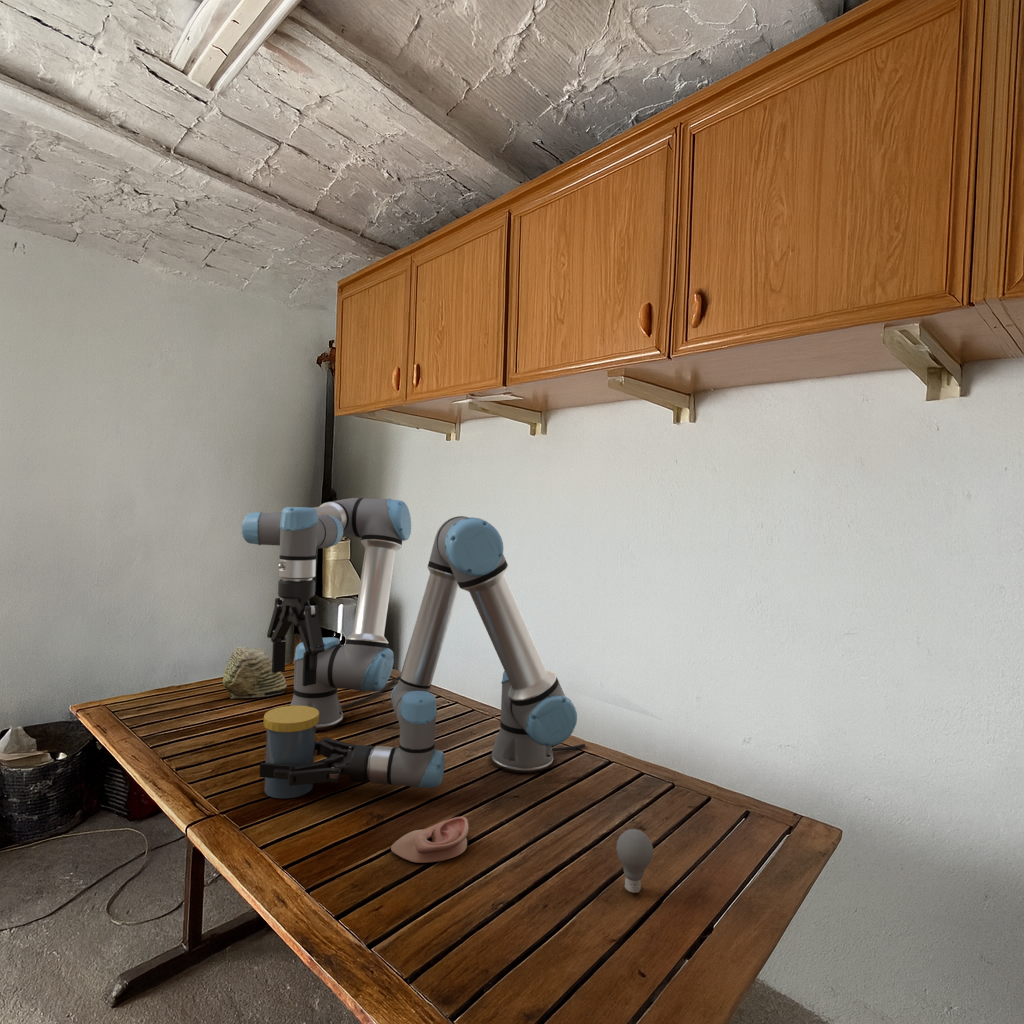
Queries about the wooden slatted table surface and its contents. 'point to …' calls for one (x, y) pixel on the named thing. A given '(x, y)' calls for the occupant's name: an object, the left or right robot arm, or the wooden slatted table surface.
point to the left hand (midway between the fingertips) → (293, 678)
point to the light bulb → (634, 857)
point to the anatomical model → (434, 842)
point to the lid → (291, 718)
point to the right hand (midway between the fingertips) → (274, 757)
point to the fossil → (252, 675)
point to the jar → (289, 759)
